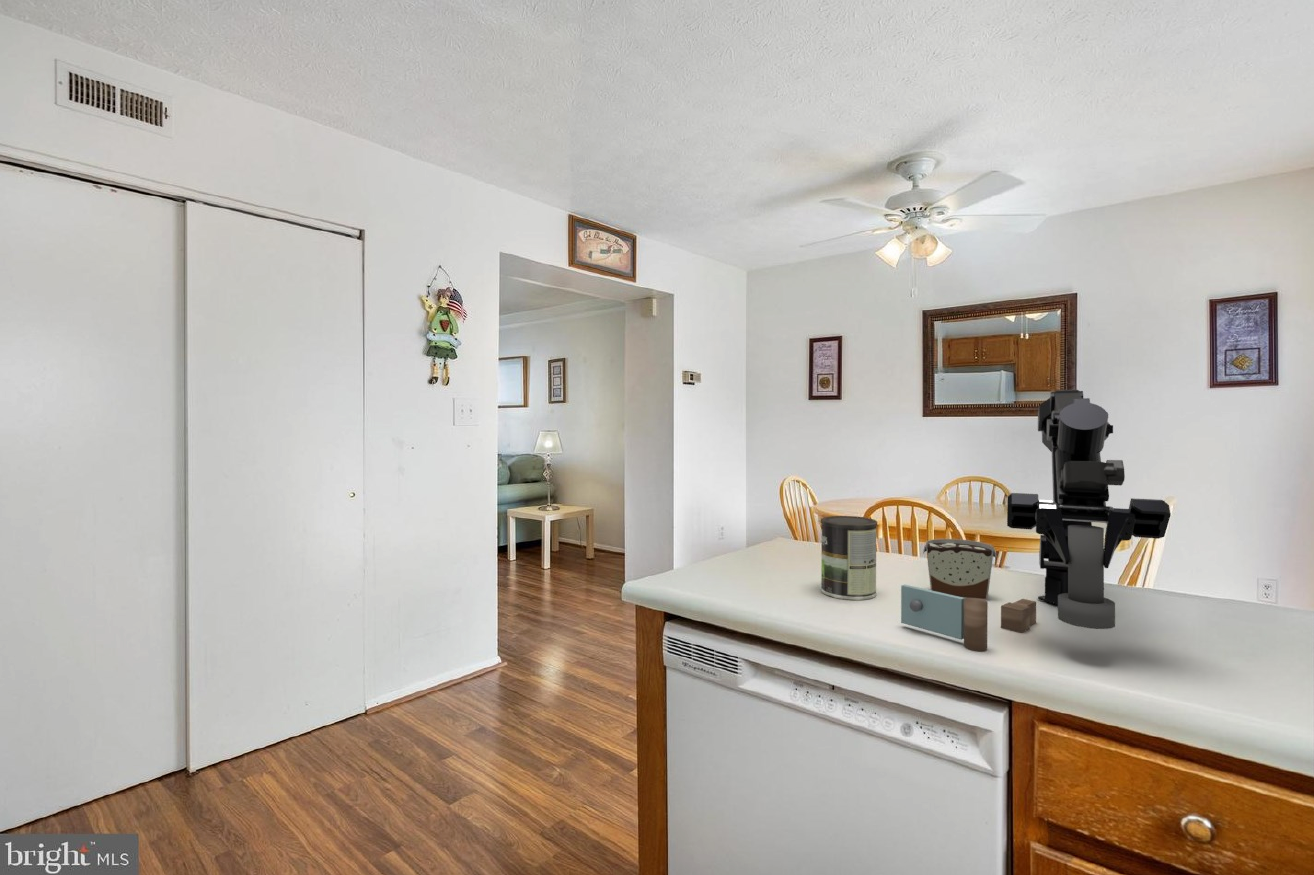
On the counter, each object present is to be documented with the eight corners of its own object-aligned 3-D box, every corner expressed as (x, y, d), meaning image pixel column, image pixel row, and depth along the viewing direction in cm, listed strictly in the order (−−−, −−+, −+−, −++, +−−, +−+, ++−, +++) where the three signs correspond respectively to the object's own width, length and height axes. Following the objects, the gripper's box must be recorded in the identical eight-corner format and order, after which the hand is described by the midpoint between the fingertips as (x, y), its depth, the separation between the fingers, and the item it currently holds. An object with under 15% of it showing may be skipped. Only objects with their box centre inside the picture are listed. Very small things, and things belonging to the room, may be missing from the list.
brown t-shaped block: (981, 652, 84) (981, 605, 84) (959, 646, 87) (960, 600, 87) (1039, 623, 96) (1039, 581, 96) (1019, 619, 99) (1019, 578, 99)
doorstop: (1082, 611, 86) (1082, 522, 86) (1127, 626, 80) (1127, 529, 80) (1046, 616, 85) (1046, 524, 84) (1089, 631, 78) (1089, 532, 78)
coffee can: (818, 597, 112) (818, 522, 111) (822, 583, 121) (822, 514, 121) (877, 602, 108) (877, 525, 108) (876, 588, 118) (877, 517, 118)
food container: (989, 592, 115) (990, 540, 114) (996, 601, 109) (997, 546, 108) (919, 586, 119) (920, 536, 118) (922, 595, 113) (923, 542, 113)
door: (964, 638, 88) (964, 597, 88) (957, 641, 87) (958, 600, 87) (904, 621, 96) (904, 584, 96) (897, 624, 95) (897, 586, 94)
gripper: (1007, 439, 90) (1007, 524, 81) (1168, 440, 80) (1188, 536, 71) (1007, 486, 97) (1006, 568, 88) (1155, 492, 87) (1171, 585, 78)
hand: (1086, 564), depth 81 cm, fingers closed on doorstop, 4 cm apart
